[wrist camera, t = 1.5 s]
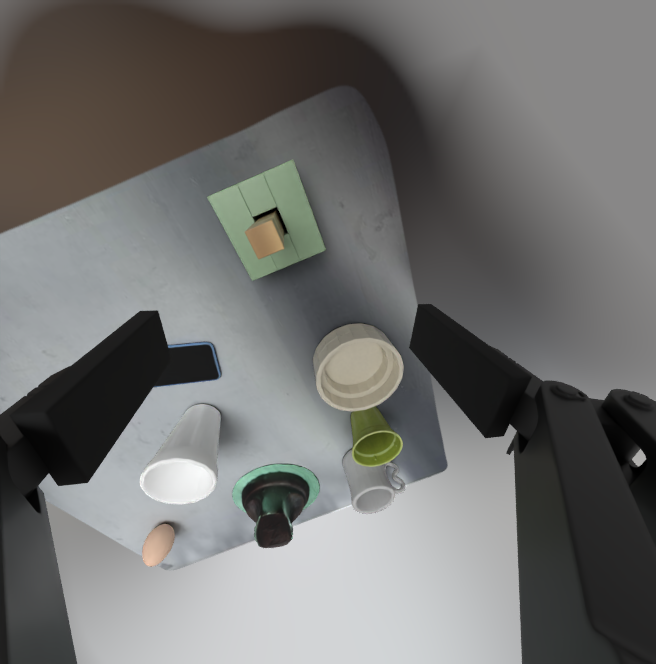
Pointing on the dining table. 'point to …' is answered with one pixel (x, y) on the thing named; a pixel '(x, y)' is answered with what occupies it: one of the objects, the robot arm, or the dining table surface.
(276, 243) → the stirring stick
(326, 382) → the bowl
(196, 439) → the cup
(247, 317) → the dining table surface
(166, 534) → the egg
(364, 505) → the mug
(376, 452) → the plant pot
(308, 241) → the holder
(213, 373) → the smartphone
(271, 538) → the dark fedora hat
